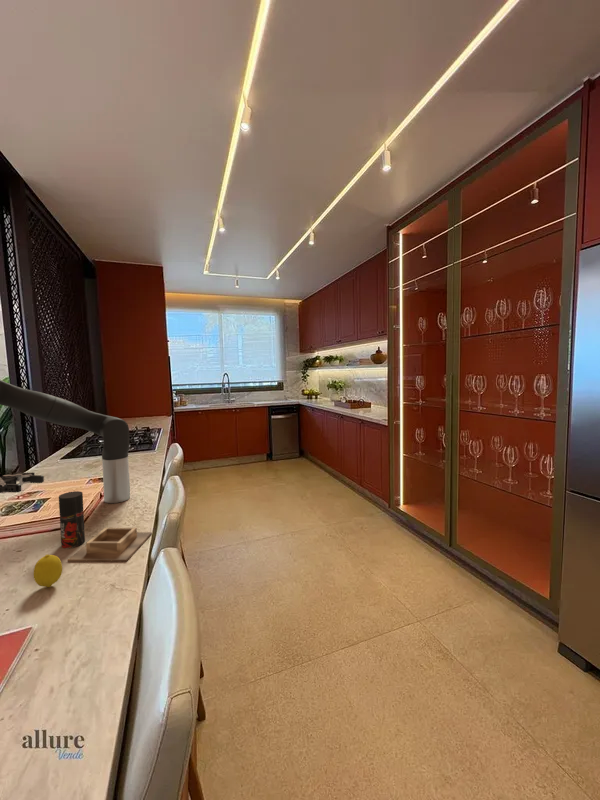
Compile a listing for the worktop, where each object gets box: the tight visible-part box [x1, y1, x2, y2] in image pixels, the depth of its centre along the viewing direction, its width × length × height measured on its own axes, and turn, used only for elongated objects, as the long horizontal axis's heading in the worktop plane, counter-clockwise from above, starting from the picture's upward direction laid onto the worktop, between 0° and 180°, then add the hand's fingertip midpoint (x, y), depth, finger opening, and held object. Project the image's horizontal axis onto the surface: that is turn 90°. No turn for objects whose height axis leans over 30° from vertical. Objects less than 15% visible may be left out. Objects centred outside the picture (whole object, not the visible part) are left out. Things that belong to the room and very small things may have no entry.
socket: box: [67, 527, 153, 563], centre depth 102 cm, size 16×16×4 cm
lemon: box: [33, 553, 63, 588], centre depth 82 cm, size 6×6×8 cm
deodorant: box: [58, 490, 86, 549], centre depth 103 cm, size 6×6×15 cm
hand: (32, 483), depth 102 cm, fingers open, 8 cm apart
